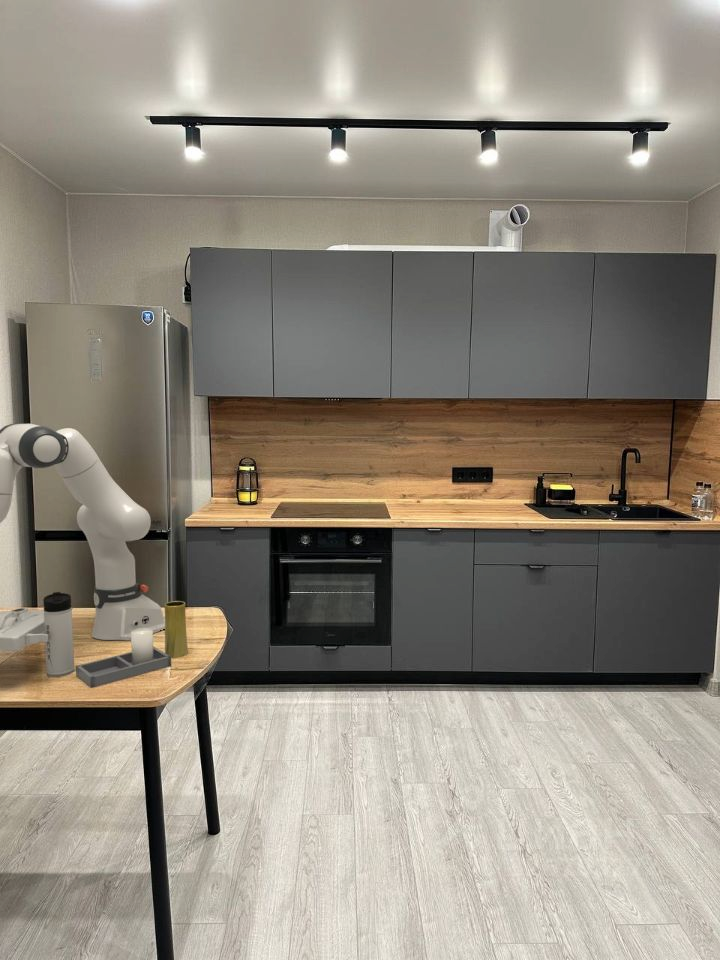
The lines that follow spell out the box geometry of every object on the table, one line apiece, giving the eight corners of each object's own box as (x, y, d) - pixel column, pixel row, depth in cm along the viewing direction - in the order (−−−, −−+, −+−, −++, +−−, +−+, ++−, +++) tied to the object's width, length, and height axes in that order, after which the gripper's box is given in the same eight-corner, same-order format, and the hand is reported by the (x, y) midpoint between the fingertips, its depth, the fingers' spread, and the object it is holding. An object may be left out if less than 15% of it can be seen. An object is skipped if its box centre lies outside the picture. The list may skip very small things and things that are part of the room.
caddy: (153, 657, 176) (153, 646, 176) (171, 668, 169) (170, 656, 168) (76, 677, 163) (75, 665, 162) (91, 690, 155) (91, 677, 155)
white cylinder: (148, 660, 172) (147, 626, 171) (157, 665, 169) (156, 631, 168) (128, 665, 169) (127, 630, 168) (137, 671, 165) (136, 635, 164)
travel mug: (73, 667, 169) (70, 590, 167) (75, 676, 163) (71, 596, 161) (46, 671, 166) (42, 593, 164) (47, 681, 161) (43, 600, 158)
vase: (163, 653, 179) (162, 601, 177) (187, 650, 181) (185, 599, 180) (165, 661, 173) (163, 607, 172) (189, 658, 175) (188, 605, 174)
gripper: (-24, 631, 154) (35, 632, 153) (25, 605, 174) (77, 606, 173) (-22, 657, 155) (36, 658, 154) (26, 629, 175) (78, 629, 174)
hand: (58, 630), depth 164 cm, fingers open, 8 cm apart
